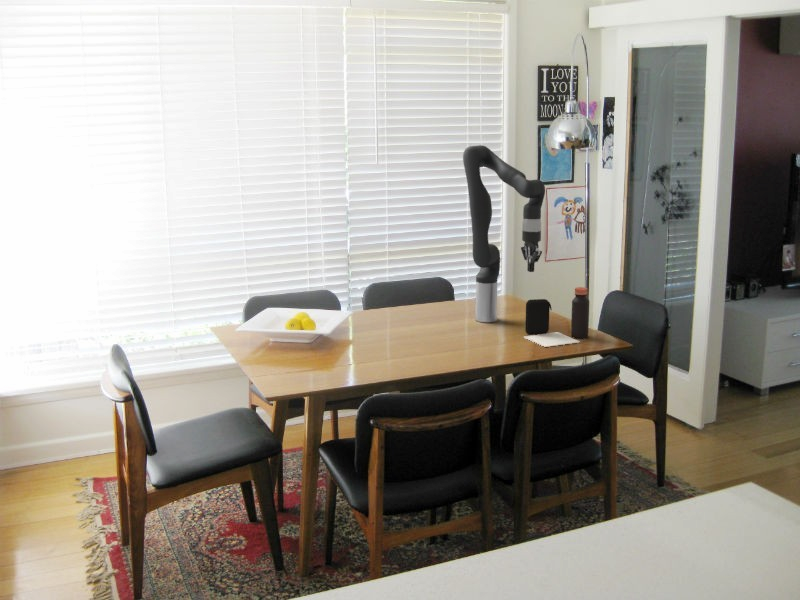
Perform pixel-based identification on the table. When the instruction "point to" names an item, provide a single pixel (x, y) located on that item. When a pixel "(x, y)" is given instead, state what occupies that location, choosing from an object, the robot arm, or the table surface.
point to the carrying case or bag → (537, 316)
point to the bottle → (580, 314)
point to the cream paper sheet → (551, 339)
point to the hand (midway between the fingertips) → (530, 271)
